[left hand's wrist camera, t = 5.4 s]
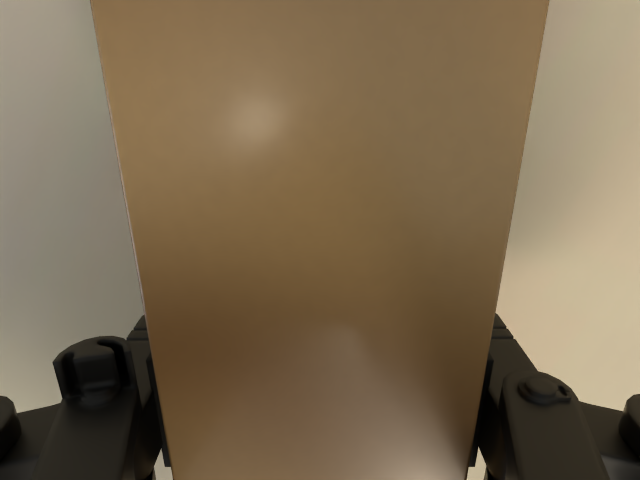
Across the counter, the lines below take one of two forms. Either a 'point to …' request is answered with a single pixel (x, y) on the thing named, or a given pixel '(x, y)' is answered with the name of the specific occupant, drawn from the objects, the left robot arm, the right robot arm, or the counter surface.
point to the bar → (319, 222)
